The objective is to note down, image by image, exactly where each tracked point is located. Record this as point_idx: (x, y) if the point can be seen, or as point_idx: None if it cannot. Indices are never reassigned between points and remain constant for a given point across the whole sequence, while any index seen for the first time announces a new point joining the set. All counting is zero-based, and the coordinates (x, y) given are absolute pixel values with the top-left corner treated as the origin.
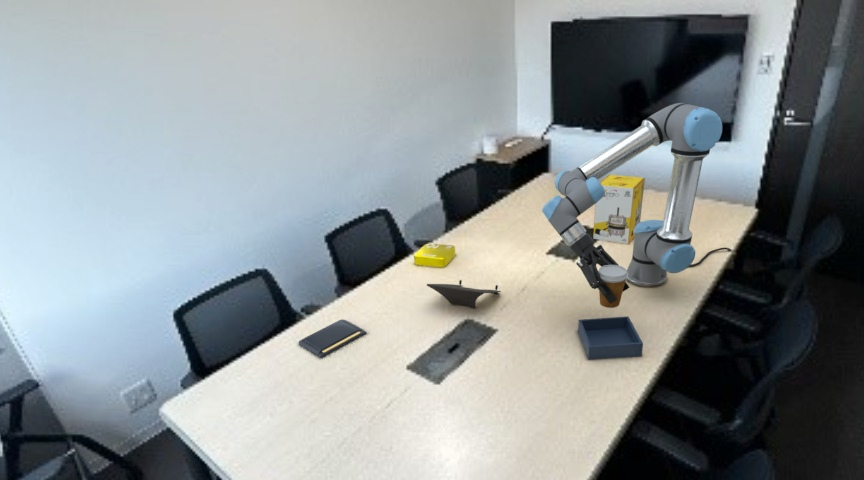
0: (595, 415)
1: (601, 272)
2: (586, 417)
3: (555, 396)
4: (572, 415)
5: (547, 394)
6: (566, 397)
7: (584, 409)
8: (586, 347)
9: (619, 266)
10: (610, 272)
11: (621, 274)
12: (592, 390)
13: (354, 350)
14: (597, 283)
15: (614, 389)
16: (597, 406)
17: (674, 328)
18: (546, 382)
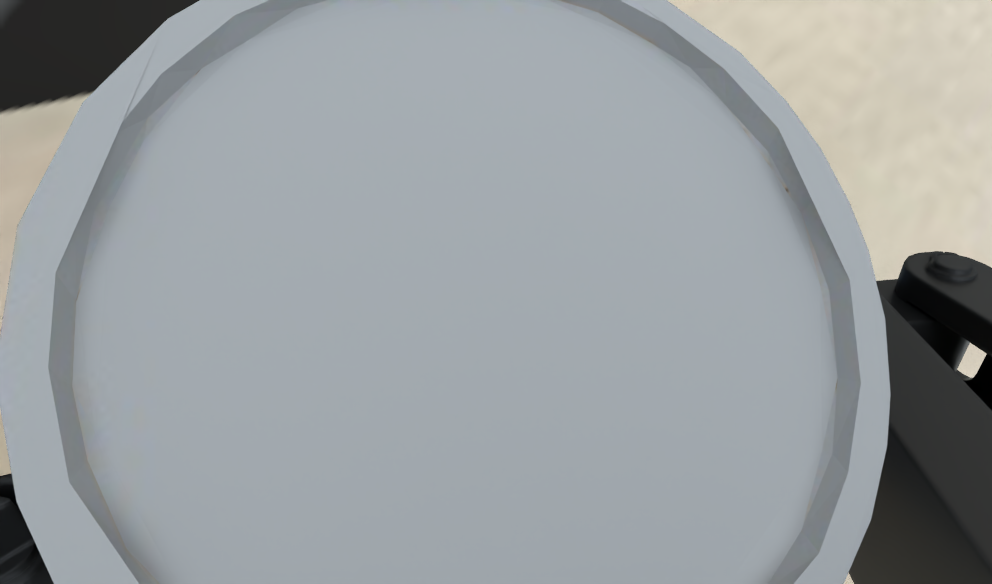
0: (891, 2)
1: (857, 415)
2: (922, 16)
3: (967, 160)
4: (957, 53)
5: (988, 189)
6: (934, 129)
7: (908, 44)
8: None
9: (56, 359)
10: (599, 290)
11: (460, 24)
12: (829, 89)
13: None
14: (962, 259)
15: (753, 36)
16: (862, 23)
17: (68, 121)
18: (963, 248)
